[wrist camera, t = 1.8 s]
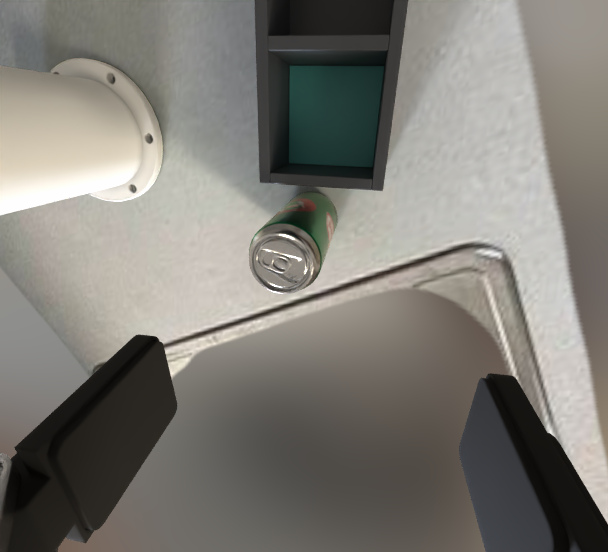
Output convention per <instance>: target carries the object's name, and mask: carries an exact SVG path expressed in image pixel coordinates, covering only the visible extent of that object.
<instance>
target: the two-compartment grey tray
mask: <svg viewBox="0 0 608 552" xmlns="http://www.w3.org/2000/svg"><path fill="white" fill-rule="evenodd" d="M407 5H408V0H255V28H256V63H257V98H258V133H259V168H260V183H271V184H286V185H301V186H316V187H331V188H347V189H362V190H371V189H372V190H376V191H383V185H384V178H385V170H386V163H387V155H388V148H389V140H390V133H391V125H392V118H393V110H394V103H395V95H396V88H397V80H398V73H399V65H400V58H401V50H402V43H403V35H404V28H405V20H406V13H407Z"/></svg>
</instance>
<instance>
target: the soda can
mask: <svg viewBox="0 0 608 552" xmlns="http://www.w3.org/2000/svg"><path fill="white" fill-rule="evenodd" d="M336 226H337V212H336V209H335V207H334V205H333V203H332V202H331V201H330V200H329V199H328V198H327V197H325V196H324V195H322V194H320V193H317V192H304V193H301V194H299V195H297V196H295V197H294V198H293V199H292V200H291V201H290V202H289V203H288V204H287V205H286V206H284V207H283V208H282V209H281V210H280V211H279V212H278V213H277V214H276V215H275V216H274V217H273V218H272V219H271V220H269V221H268V222H267V223H266V224H265V225H264V226H263V227H262V228H261V229H260V230H259V231H258V232H257V233H256V234H255V236H254V237H253V239H252V241H251V244H250V248H249V263H250V268H251V271H252V273H253V275H254V277H255V279H256V280H257V281H258V282H259V283H260V284H261V285H262V286H263V287H265V288H266V289H268V290H270V291H273V292H275V293H280V294H289V293H294V292H297V291H299V290H301V289H304V288H306V287H307V286H309V285H310V284H311V283H313V282H314V280H315V279H316V278H317V276H318V274H319V272H320V270H321V267H322V264H323V261H324V259H325V256H326V253H327V250H328V248H329V245H330V242H331V239H332V237H333V234H334V231H335V228H336Z"/></svg>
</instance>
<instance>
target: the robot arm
mask: <svg viewBox="0 0 608 552" xmlns="http://www.w3.org/2000/svg"><path fill="white" fill-rule="evenodd" d="M162 158H163V143H162V134H161V131H160V127H159V123H158V120H157V118H156V115H155V113H154V111H153V108H152V106H151V105H150V103H149V101H148V100H147V98H146V97H145V95H144V93H143V92H142V91H141V90H140V89H139V87H138V86H137V85H136V84H135V83H134V82H133V81H132V80H131V79H130V78H129V77H128V76H126V75H125V74H124V73H123V72H121V71H120V70H118V69H116V68H115V67H113V66H111V65H109V64H106V63H103V62H101V61H97V60H92V59H87V58H73V59H69V60H66V61H63V62H61V63H60V64H58V65H56V66H55V67H54V68H53V69H52V70H51V71H50V72H49V73H46V72H39V71H32V70H26V69H19V68H13V67H6V66H0V215H3V214H7V213H11V212H15V211H19V210H23V209H27V208H31V207H35V206H39V205H43V204H47V203H51V202H55V201H59V200H63V199H67V198H71V197H75V196H79V195H83V194H87V193H88V194H90V195H92V196H94V197H97V198H99V199H102V200H107V201H112V202H114V201H125V200H129V199H133V198H135V197H138V196H140V195H142V194H143V193H145V192H146V191H147V190H149V188H150V187H151V186H152V185H153V183H154V182H155V181H156V178H157V176H158V174H159V172H160V168H161V164H162ZM176 410H177V401H176V397H175V393H174V388H173V384H172V380H171V376H170V371H169V367H168V363H167V359H166V354H165V350H164V346H163V343H162V342H159V339H158V338H157V337H155V336H147V335H136V336H134V337H133V338H132V339H131V340H130V341H129V342H128V343H127V344H126V345H124V346H123V347H122V348H121V349H120V350H119V351H118V352H117V353H116V354H115V355H114V356H113V357H112V358H110V359H109V360H108V361H107V362H106V363H105V364H104V365H103V366H102V367H101V368H100V369H99V370H98V371H96V372H95V373H94V374H93V375H92V376H91V377H90V378H89V379H88V380H87V381H86V382H85V383H84V384H82V385H81V386H80V387H79V388H78V389H77V390H76V391H75V392H74V393H73V394H72V395H71V396H70V397H68V398H67V399H66V400H65V401H64V402H63V403H62V404H61V405H60V406H59V407H58V408H57V409H56V410H55V411H54V412H52V413H51V414H50V415H49V416H48V417H47V418H46V419H45V420H44V421H43V422H42V423H41V424H40V425H38V426H37V427H36V428H35V429H34V430H33V431H32V432H31V433H30V434H29V435H28V436H27V437H25V438H24V439H23V440H22V441H21V442H20V443H19V444H18V445H17V446H16V447H15V450H16V451H17V454H16V455H15V456H13V457H12V458H11V459H10V458H9V456H8V455H6V454H2V453H0V552H58V547H59V545H60V544H61V543H62V541H63V539H64V538H65V537H66V538H67V539H70V540H74V541H79V542H83V543H86V542H87V541H88V539H89V538H90V536H91V534H92V533H93V532H94V530H97V529H99V528H100V527H101V526H102V525H103V524H104V522H105V521H106V519H107V518H108V516H109V515H110V513H111V512H112V510H113V509H114V507H115V506H116V504H117V503H118V501H119V500H120V498H121V497H122V495H123V493H124V492H125V490H126V489H127V487H128V486H129V484H130V482H131V481H132V480H133V478H134V477H135V475H136V474H137V472H138V470H139V469H140V467H141V465H142V464H143V463H144V461H145V459H146V458H147V456H148V455H149V454H150V452H151V451H152V449H153V447H154V446H155V444H156V443H157V441H158V440H159V438H160V437H161V435H162V434H163V432H164V431H165V429H166V427H167V426H168V424H169V423H170V421H171V420H172V418H173V417H174V415H175V413H176ZM459 454H460V460H461V463H462V467H463V470H464V474H465V478H466V481H467V485H468V489H469V492H470V496H471V500H472V503H473V507H474V511H475V514H476V518H477V522H478V525H479V529H480V532H481V536H482V540H483V543H484V547H485V550H486V552H608V524H607V522H606V521H605V519H604V517H603V515H602V514H601V512H600V510H599V509H598V507H597V505H596V504H595V502H594V500H593V499H592V497H591V495H590V494H589V492H588V490H587V489H586V487H585V485H584V484H583V482H582V480H581V479H580V477H579V475H578V474H577V472H576V470H575V468H574V467H573V465H572V463H571V462H570V460H569V458H568V457H567V455H566V453H565V452H564V450H563V448H562V447H561V445H560V443H559V442H558V441H557V439H556V438H555V437H554V436H553V435H551V434H549V433H547V431H546V430H545V428H544V426H543V424H542V423H541V421H540V419H539V417H538V416H537V414H536V412H535V411H534V409H533V407H532V405H531V404H530V402H529V400H528V398H527V397H526V395H525V393H524V391H523V390H522V388H521V386H520V385H519V383H518V381H517V380H516V378H515V377H513V376H509V375H500V374H488V375H487V377H486V378H481V379H480V380H479V382H478V386H477V389H476V392H475V396H474V399H473V402H472V406H471V409H470V412H469V416H468V419H467V422H466V425H465V429H464V432H463V435H462V439H461V442H460V446H459Z"/></svg>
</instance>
